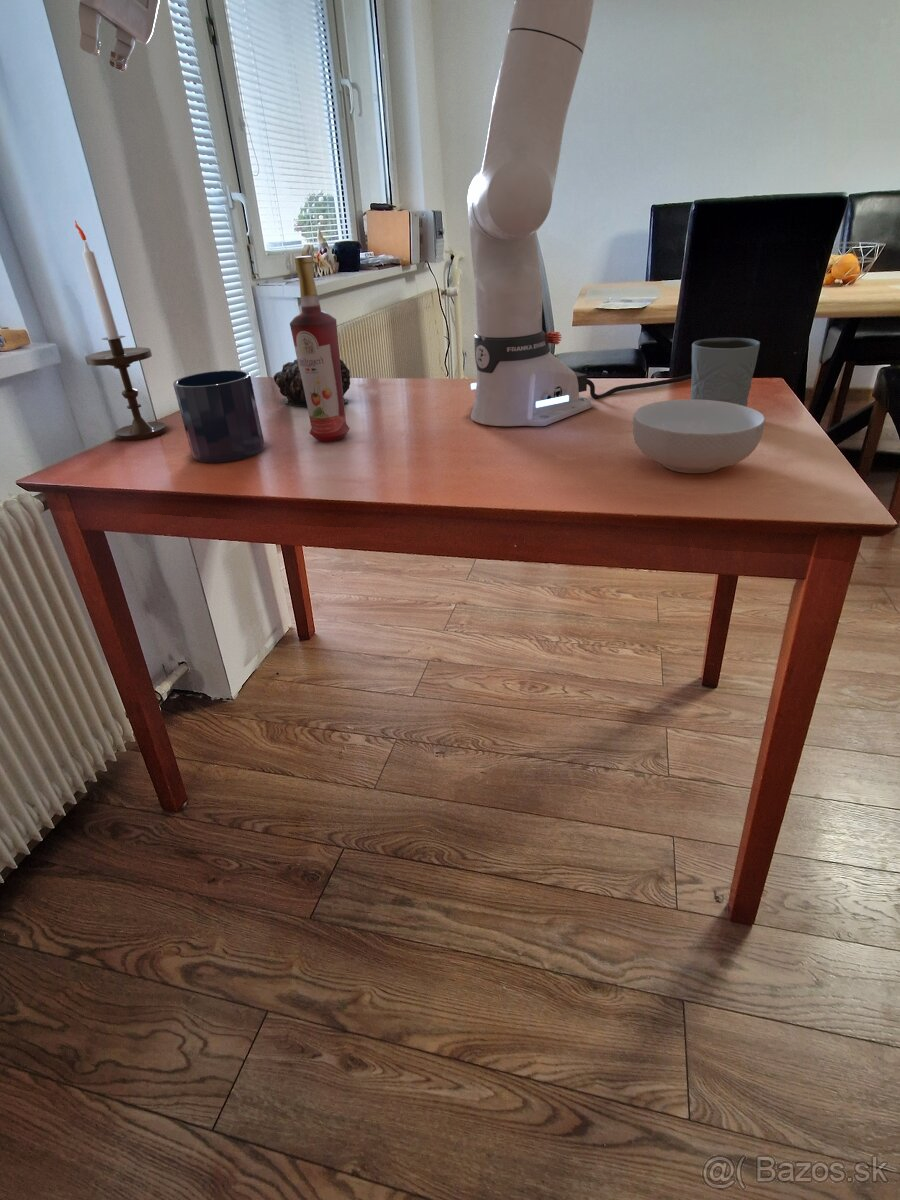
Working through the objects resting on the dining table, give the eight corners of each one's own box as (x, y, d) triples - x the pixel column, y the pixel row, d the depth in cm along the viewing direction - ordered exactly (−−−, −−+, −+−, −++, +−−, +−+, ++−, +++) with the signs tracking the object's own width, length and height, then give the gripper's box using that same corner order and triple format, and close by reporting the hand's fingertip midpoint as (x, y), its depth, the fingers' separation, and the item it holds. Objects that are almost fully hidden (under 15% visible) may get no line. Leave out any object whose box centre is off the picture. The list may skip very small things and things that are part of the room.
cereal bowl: (692, 496, 84) (699, 440, 80) (605, 461, 96) (607, 412, 93) (784, 467, 90) (795, 415, 87) (691, 438, 103) (697, 392, 99)
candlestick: (98, 439, 124) (26, 223, 106) (145, 423, 132) (85, 220, 114) (138, 444, 119) (70, 219, 101) (184, 427, 127) (128, 216, 110)
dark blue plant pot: (251, 436, 119) (236, 366, 113) (275, 451, 111) (260, 377, 104) (184, 451, 114) (165, 379, 108) (204, 468, 105) (184, 390, 99)
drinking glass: (727, 430, 105) (739, 350, 99) (671, 419, 112) (679, 344, 106) (759, 415, 111) (772, 339, 105) (704, 406, 118) (713, 334, 112)
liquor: (359, 432, 117) (335, 253, 103) (340, 445, 111) (313, 257, 97) (321, 431, 119) (293, 255, 105) (301, 444, 113) (269, 259, 99)
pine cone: (289, 395, 145) (281, 347, 140) (361, 398, 139) (355, 347, 134) (261, 408, 137) (251, 357, 132) (336, 411, 131) (328, 358, 125)
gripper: (114, -86, 77) (95, 54, 83) (172, -24, 95) (152, 88, 101) (57, -116, 75) (41, 28, 81) (126, -47, 93) (109, 67, 99)
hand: (103, 61), depth 91 cm, fingers open, 8 cm apart
